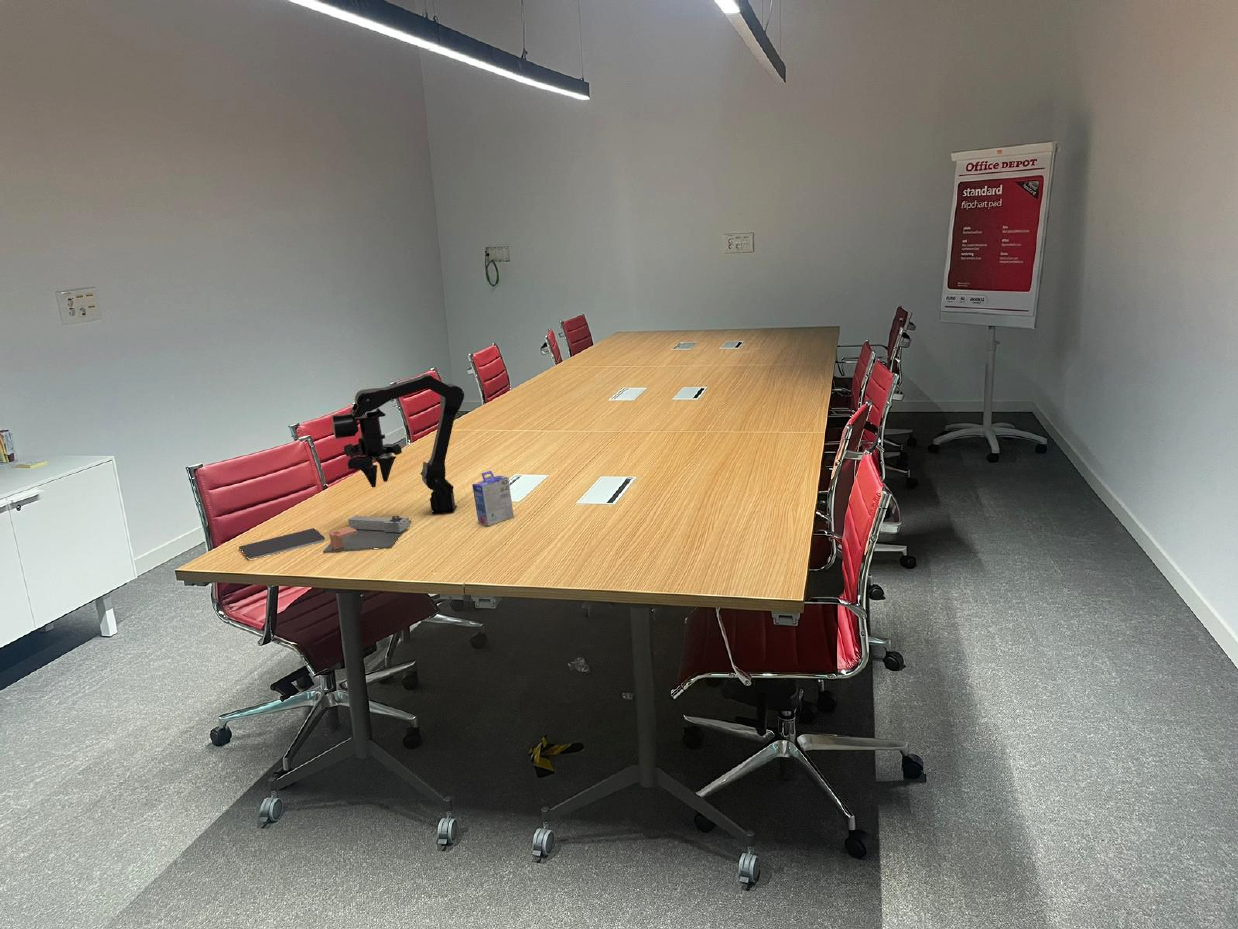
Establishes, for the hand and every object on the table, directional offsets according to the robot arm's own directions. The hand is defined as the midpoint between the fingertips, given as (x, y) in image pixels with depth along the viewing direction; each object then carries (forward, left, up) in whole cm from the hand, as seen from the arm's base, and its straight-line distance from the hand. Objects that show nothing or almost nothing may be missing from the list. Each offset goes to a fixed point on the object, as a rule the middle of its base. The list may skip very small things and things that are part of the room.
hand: (379, 484), depth 267 cm
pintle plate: (+1, +12, -12) cm, 17 cm away
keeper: (+6, +20, -12) cm, 24 cm away
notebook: (+26, +14, -13) cm, 32 cm away
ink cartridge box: (-34, +5, -12) cm, 37 cm away
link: (0, +7, -11) cm, 13 cm away
